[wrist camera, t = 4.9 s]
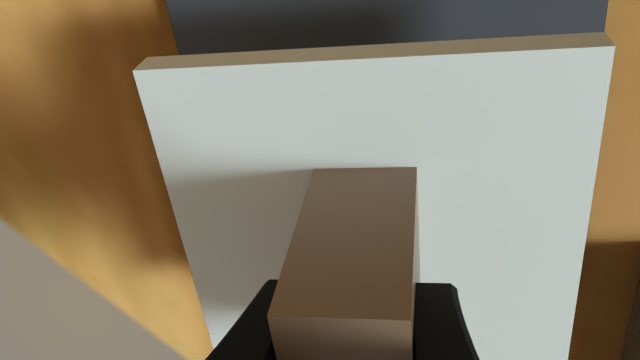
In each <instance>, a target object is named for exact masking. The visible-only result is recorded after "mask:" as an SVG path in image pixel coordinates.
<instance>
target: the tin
mask: <svg viewBox="0 0 640 360" xmlns="http://www.w3.org/2000/svg"><path fill="white" fill-rule="evenodd" d="M622 360H640V280H639V285H638V289H637V294H636V298H635V303H634V307H633V312H632V316H631V321H630V325H629V330H628V334H627V338H626V343H625V347H624V352H623V356H622Z"/></svg>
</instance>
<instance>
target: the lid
mask: <svg viewBox="0 0 640 360" xmlns="http://www.w3.org/2000/svg"><path fill="white" fill-rule="evenodd" d="M614 52H615V45H614V43H613V42H612V41H611V39H610V38H609V37H608V35H607V34H606V33H605V32H592V33H574V34H556V35H538V36H520V37H502V38H484V39H466V40H447V41H429V42H411V43H393V44H375V45H357V46H339V47H321V48H302V49H284V50H266V51H248V52H230V53H212V54H194V55H176V56H157V57H147V58H146V59H144V60H143V61H142V62H141V63H140V64H139V65H138V66H137V67H136V68H135V69H133V70H132V71H133V75H134V78H135V82H136V85H137V88H138V92H139V95H140V99H141V102H142V106H143V109H144V112H145V116H146V119H147V123H148V126H149V129H150V133H151V136H152V140H153V143H154V147H155V150H156V153H157V157H158V160H159V164H160V167H161V171H162V174H163V177H164V181H165V184H166V188H167V191H168V195H169V198H170V201H171V205H172V208H173V212H174V215H175V219H176V222H177V225H178V229H179V232H180V236H181V239H182V242H183V246H184V249H185V253H186V256H187V260H188V263H189V266H190V270H191V273H192V277H193V280H194V284H195V287H196V290H197V294H198V297H199V301H200V304H201V308H202V311H203V314H204V318H205V321H206V325H207V328H208V332H209V335H210V338H211V342H212V345H213V349H214V348H215V347H216V346H217V345H218V344H219V342H220V341H221V340H222V339H223V338H224V336H225V335H226V334H227V332H228V331H229V330H230V329H231V327H232V326H233V325H234V323H235V322H236V321H237V320H238V318H239V317H240V316H241V314H242V313H243V312H244V310H245V309H246V308H247V306H248V305H249V304H250V302H251V301H252V300H253V298H254V297H255V296H256V294H257V293H258V292H259V290H260V289H261V288H262V286H263V285H264V284H265V283H266V282H267V281H268V280H269V279H278V283H277V286H276V289H275V292H274V295H273V298H272V302H271V305H270V308H269V311H268V314H267V319H268V323H269V328H270V332H271V337H272V342H273V346H274V351H275V355H276V360H415V345H414V306H415V290H416V283H451V284H452V285H453V286H455V287H456V288H457V291H458V297H459V301H460V306H461V309H462V313H463V316H464V319H465V323H466V326H467V328H468V331H469V334H470V337H471V339H472V342H473V345H474V347H475V350H476V352H477V355H478V357H479V359H480V360H568V355H569V348H570V342H571V335H572V328H573V322H574V315H575V309H576V302H577V296H578V289H579V282H580V276H581V269H582V263H583V256H584V250H585V243H586V236H587V230H588V223H589V217H590V210H591V203H592V197H593V190H594V184H595V177H596V171H597V164H598V157H599V151H600V144H601V138H602V131H603V124H604V118H605V111H606V105H607V98H608V92H609V85H610V78H611V72H612V65H613V59H614Z"/></svg>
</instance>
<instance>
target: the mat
mask: <svg viewBox="0 0 640 360" xmlns="http://www.w3.org/2000/svg"><path fill="white" fill-rule="evenodd" d="M166 4H167V8H168V12H169V16H170V20H171V24H172V28H173V32H174V37H175V41H176V45H177V49H178V53H179V55H194V54H212V53H230V52H248V51H266V50H284V49H302V48H321V47H339V46H357V45H375V44H393V43H411V42H429V41H447V40H466V39H484V38H502V37H520V36H538V35H556V34H574V33H592V32H604V28H605V21H606V14H607V7H608V0H166Z"/></svg>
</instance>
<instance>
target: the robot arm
mask: <svg viewBox="0 0 640 360" xmlns="http://www.w3.org/2000/svg"><path fill="white" fill-rule="evenodd" d="M277 283H278V279H269V280H268V281H267V282H266V283H265V284H264V285H263V286H262V288H261V289H260V290H259V292H258V293H257V294H256V296H255V297H254V298H253V300H252V301H251V302H250V304H249V305H248V306H247V308H246V309H245V310H244V312H243V313H242V314H241V316H240V317H239V318H238V320H237V321H236V322H235V323H234V325H233V326H232V327H231V329H230V330H229V331H228V332H227V334H226V335H225V336H224V338H223V339H222V340H221V341H220V342H219V344H218V345H217V346H216V347H215V348H214V350H213V351H212V352H211V353H210V354H209V356H208V357H207V358H206V359H205V360H276V355H275V351H274V346H273V342H272V337H271V332H270V328H269V323H268V319H267V314H268V311H269V308H270V305H271V302H272V298H273V295H274V292H275V289H276V286H277ZM414 345H415V360H480V359H479V357H478V355H477V352H476V350H475V347H474V345H473V342H472V339H471V337H470V334H469V331H468V328H467V326H466V323H465V319H464V316H463V313H462V309H461V306H460V301H459V297H458V291H457V288H456V287H455V286H453V285H452V284H451V283H416V290H415V306H414Z"/></svg>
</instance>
